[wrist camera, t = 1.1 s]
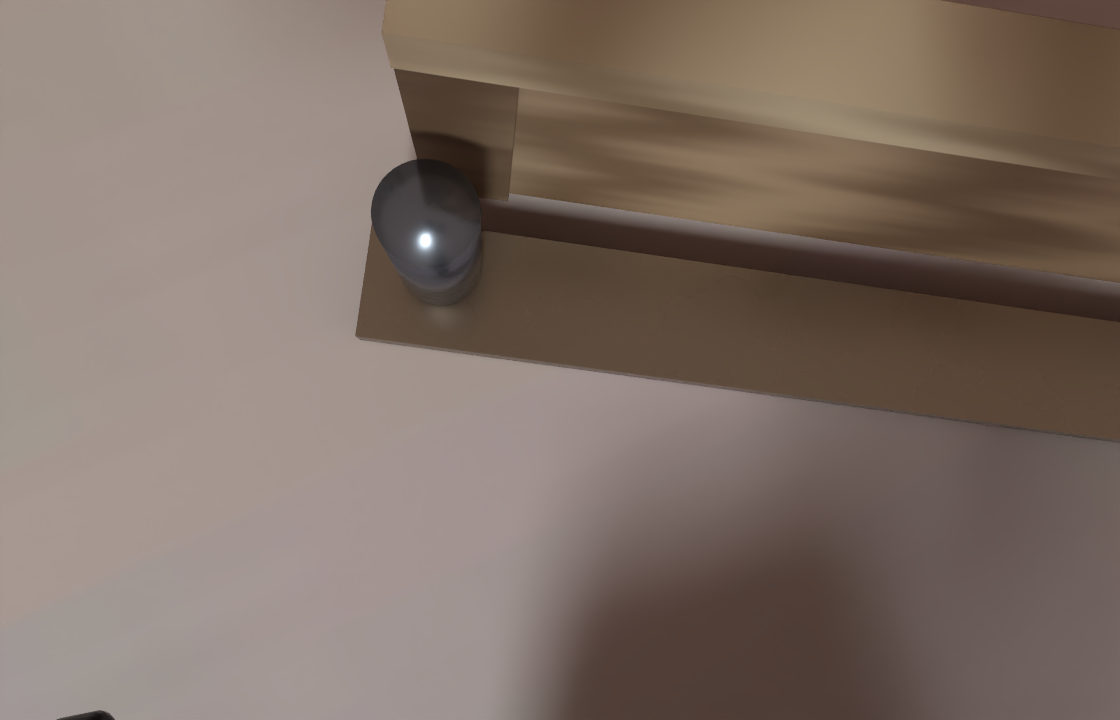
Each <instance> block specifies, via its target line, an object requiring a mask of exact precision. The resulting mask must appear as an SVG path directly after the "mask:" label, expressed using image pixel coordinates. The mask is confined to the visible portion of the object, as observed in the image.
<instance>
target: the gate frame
mask: <svg viewBox="0 0 1120 720" xmlns="http://www.w3.org/2000/svg"><path fill="white" fill-rule="evenodd" d="M371 219H372V227H371V234H370V240H369V247H368V254H367V261H366V268H365V274H364V281H363V288H362V295H361V301H360V308H359V315H358V322H357V329H356V335H355V336H356V337H357V338H359V339H360V340H366V341H374V342H381V343H388V344H396V345H403V346H411V347H418V348H425V349H433V350H440V351H447V352H455V353H462V354H470V355H477V356H484V357H492V358H499V359H506V360H514V361H521V362H529V363H536V364H543V365H551V366H558V367H565V368H573V369H580V370H588V371H595V372H602V373H610V374H617V375H625V376H632V377H639V378H647V379H654V380H661V381H669V382H676V383H684V384H691V385H698V386H706V387H713V388H720V389H728V390H735V391H743V392H750V393H757V394H765V395H772V396H779V397H787V398H794V399H802V400H809V401H816V402H824V403H831V404H838V405H846V406H853V407H861V408H868V409H875V410H883V411H890V412H897V413H905V414H912V415H920V416H927V417H934V418H942V419H949V420H956V421H964V422H971V423H979V424H986V425H993V426H1001V427H1008V428H1015V429H1023V430H1030V431H1038V432H1045V433H1052V434H1060V435H1067V436H1074V437H1082V438H1089V439H1097V440H1104V441H1111V442H1119V443H1120V322H1115V321H1108V320H1101V319H1094V318H1087V317H1080V316H1073V315H1066V314H1059V313H1052V312H1045V311H1039V310H1032V309H1025V308H1018V307H1011V306H1004V305H997V304H990V303H983V302H976V301H969V300H962V299H955V298H948V297H941V296H934V295H927V294H920V293H913V292H907V291H900V290H893V289H886V288H879V287H872V286H865V285H858V284H851V283H844V282H837V281H830V280H823V279H816V278H809V277H802V276H795V275H788V274H781V273H775V272H768V271H761V270H754V269H747V268H740V267H733V266H726V265H719V264H712V263H705V262H698V261H691V260H684V259H677V258H670V257H663V256H656V255H650V254H643V253H636V252H629V251H622V250H615V249H608V248H601V247H594V246H587V245H580V244H573V243H566V242H559V241H552V240H545V239H538V238H531V237H524V236H518V235H511V234H504V233H497V232H490V231H483V230H481V208H480V202H479V198H478V195H477V192H476V190H475V188H474V186H473V185H472V183H471V182H470V180H469V179H468V178H467V177H466V176H465V175H464V174H463V173H462V172H461V171H460V170H458V169H457V168H455V167H454V166H452V165H450V164H448V163H445V162H442V161H439V160H434V159H417V160H412V161H409V162H406V163H403V164H401V165H399V166H398V167H396V168H394V169H393V170H392V171H390V172H389V173H388V174H387V175H386V176H385V177H384V178H383V180H382V181H381V182H380V184H379V185H378V187H377V189H376V191H375V194H374V197H373V201H372V206H371Z"/></svg>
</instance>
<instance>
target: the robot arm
mask: <svg viewBox="0 0 1120 720" xmlns="http://www.w3.org/2000/svg"><path fill="white" fill-rule="evenodd" d="M57 720H115V719H114V718H113V717H112V716H111V715H110V714H109V713H107V712H104V711H101V710H99V711H93V712H88V713H83V714H79V715H74V716H69V717H64V718H60V719H57Z"/></svg>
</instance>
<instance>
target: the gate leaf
mask: <svg viewBox="0 0 1120 720" xmlns="http://www.w3.org/2000/svg"><path fill="white" fill-rule="evenodd" d="M382 35H383V39H384V43H385V47H386V50H387V54H388V58H389V62H390V65H391V68H394V71H395V75H396V79H397V83H398V86H399V90H400V94H401V98H402V102H403V106H404V110H405V113H406V117H407V121H408V125H409V129H410V133H411V137H412V140H413V144H414V148H415V152H416V156H417V159H434V160H439V161H442V162H445V163H448V164H450V165H452V166H454V167H455V168H457V169H458V170H460V171H461V172H462V173H463V174H464V175H465V176H466V177H467V178H468V179H469V180H470V182H471V183H472V185H473V186H474V188H475V190H476V192H477V195H478V197H483V198H490V199H497V200H504V201H508V196H509V193H512V194H519V195H526V196H533V197H540V198H546V199H553V200H560V201H567V202H574V203H580V204H587V205H594V206H601V207H608V208H615V209H621V210H628V211H635V212H642V213H649V214H655V215H662V216H669V217H676V218H683V219H690V220H696V221H703V222H710V223H717V224H724V225H730V226H737V227H744V228H751V229H758V230H765V231H771V232H778V233H785V234H792V235H799V236H805V237H812V238H819V239H826V240H833V241H839V242H846V243H853V244H860V245H867V246H874V247H880V248H887V249H894V250H901V251H908V252H914V253H921V254H928V255H935V256H942V257H949V258H955V259H962V260H969V261H976V262H983V263H989V264H996V265H1003V266H1010V267H1017V268H1024V269H1030V270H1037V271H1044V272H1051V273H1058V274H1064V275H1071V276H1078V277H1085V278H1092V279H1098V280H1105V281H1112V282H1119V283H1120V30H1119V29H1113V28H1107V27H1101V26H1095V25H1089V24H1083V23H1077V22H1071V21H1065V20H1059V19H1052V18H1046V17H1040V16H1034V15H1028V14H1022V13H1016V12H1010V11H1004V10H998V9H992V8H986V7H979V6H973V5H967V4H961V3H955V2H949V1H943V0H386V7H385V14H384V20H383V27H382Z"/></svg>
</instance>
